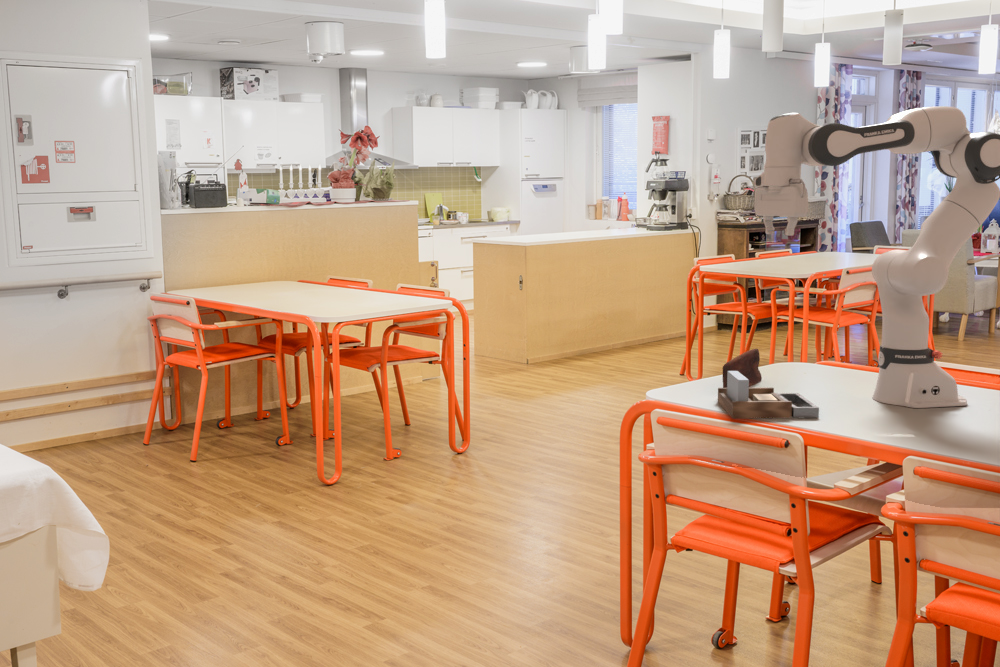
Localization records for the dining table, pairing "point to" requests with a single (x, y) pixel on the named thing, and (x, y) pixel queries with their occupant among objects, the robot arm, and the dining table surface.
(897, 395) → the robot arm
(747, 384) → the gray rectangular panel
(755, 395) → the offcut short
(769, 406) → the divided tray
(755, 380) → the wooden tablet
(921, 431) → the dining table surface
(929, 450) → the dining table surface
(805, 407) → the stand
